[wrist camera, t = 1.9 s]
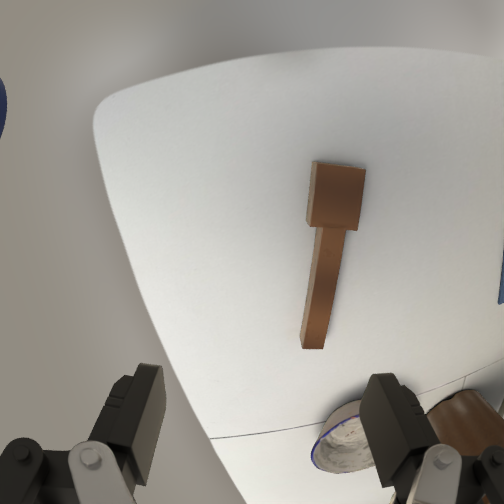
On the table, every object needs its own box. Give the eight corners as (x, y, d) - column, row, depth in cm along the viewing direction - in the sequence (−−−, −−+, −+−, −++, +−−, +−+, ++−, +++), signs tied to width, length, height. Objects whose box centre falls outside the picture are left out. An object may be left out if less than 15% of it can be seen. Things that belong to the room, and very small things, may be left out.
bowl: (302, 396, 33) (308, 428, 29) (407, 372, 33) (423, 399, 28) (308, 455, 37) (313, 482, 33) (395, 435, 37) (405, 459, 32)
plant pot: (506, 374, 34) (558, 440, 19) (456, 443, 39) (489, 508, 24) (436, 378, 33) (493, 470, 18) (384, 454, 38) (412, 537, 23)
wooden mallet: (328, 337, 30) (333, 349, 29) (289, 336, 30) (291, 348, 28) (358, 167, 25) (366, 169, 23) (311, 161, 25) (316, 162, 23)
